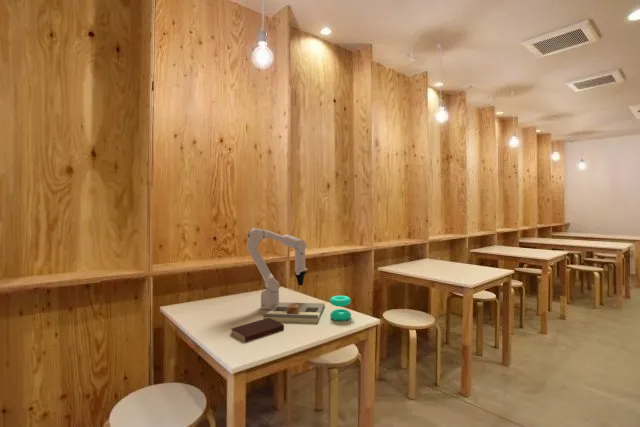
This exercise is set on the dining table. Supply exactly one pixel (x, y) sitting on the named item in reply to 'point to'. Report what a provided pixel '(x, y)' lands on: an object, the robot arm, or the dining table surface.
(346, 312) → the donuts
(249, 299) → the dining table surface
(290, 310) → the block
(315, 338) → the dining table surface
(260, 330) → the book
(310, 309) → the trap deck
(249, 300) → the dining table surface
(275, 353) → the dining table surface
